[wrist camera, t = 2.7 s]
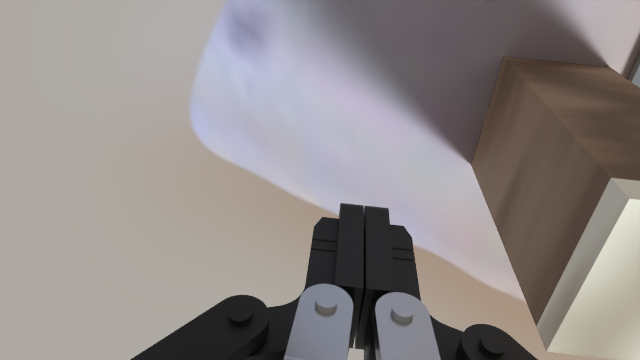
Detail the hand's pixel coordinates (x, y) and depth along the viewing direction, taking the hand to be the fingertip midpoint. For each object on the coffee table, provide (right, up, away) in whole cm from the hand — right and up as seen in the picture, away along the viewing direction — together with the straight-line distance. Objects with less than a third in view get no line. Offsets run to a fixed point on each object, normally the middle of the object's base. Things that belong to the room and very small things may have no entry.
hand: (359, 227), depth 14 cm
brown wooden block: (+10, +5, +9) cm, 14 cm away
